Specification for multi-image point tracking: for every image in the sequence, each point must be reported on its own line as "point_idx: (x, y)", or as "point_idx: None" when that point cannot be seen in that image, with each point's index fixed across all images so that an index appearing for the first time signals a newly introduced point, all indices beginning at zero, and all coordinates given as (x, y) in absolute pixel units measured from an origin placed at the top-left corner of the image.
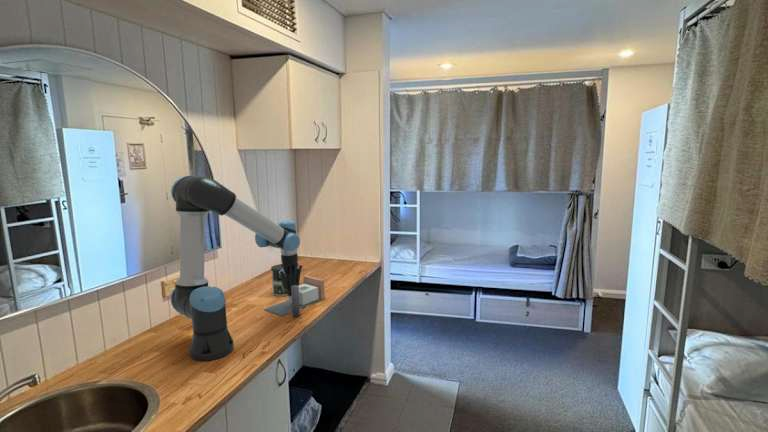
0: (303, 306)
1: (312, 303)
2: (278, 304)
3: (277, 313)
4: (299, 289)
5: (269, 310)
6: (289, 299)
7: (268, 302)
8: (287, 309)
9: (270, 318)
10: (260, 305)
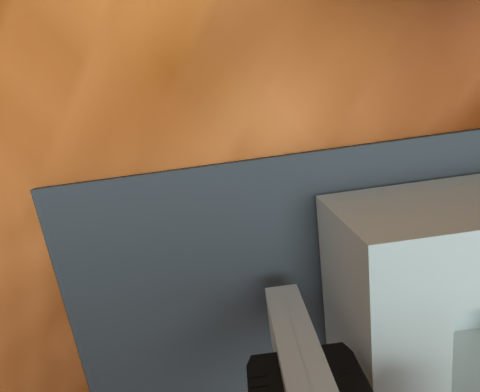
0: None
1: None
2: (195, 183)
3: (87, 358)
4: (451, 367)
5: (59, 256)
6: (268, 308)
7: (157, 21)
8: (193, 341)
9: (12, 381)
10: (49, 38)
